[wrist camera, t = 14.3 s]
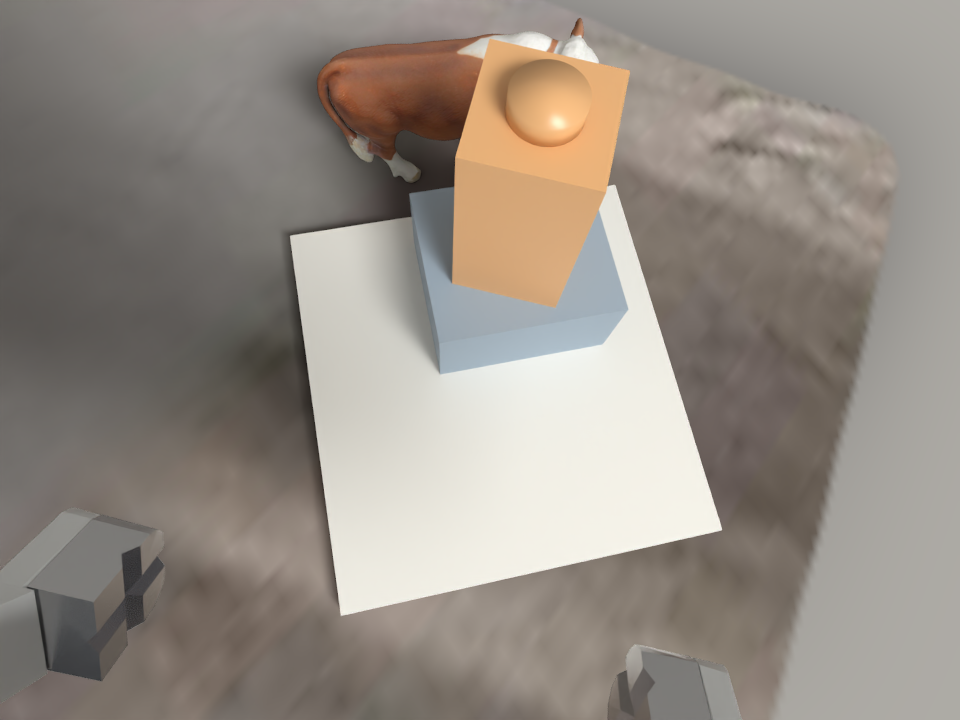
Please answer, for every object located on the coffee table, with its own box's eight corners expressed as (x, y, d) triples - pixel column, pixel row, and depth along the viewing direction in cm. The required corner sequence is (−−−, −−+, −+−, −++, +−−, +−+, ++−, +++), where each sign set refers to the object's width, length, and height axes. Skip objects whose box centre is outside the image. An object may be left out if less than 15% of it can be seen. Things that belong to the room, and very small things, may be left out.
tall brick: (555, 308, 26) (613, 176, 17) (452, 283, 26) (455, 139, 17) (574, 217, 27) (637, 50, 18) (476, 193, 27) (491, 17, 18)
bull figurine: (585, 188, 34) (627, 79, 26) (336, 188, 33) (303, 76, 26) (579, 121, 36) (616, -1, 28) (339, 119, 35) (309, -8, 27)
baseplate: (344, 613, 27) (341, 615, 26) (294, 245, 32) (290, 235, 31) (713, 531, 29) (722, 530, 28) (610, 195, 34) (614, 184, 33)
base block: (440, 374, 29) (439, 343, 25) (414, 243, 31) (409, 193, 27) (602, 344, 30) (628, 309, 26) (567, 218, 32) (586, 166, 28)
